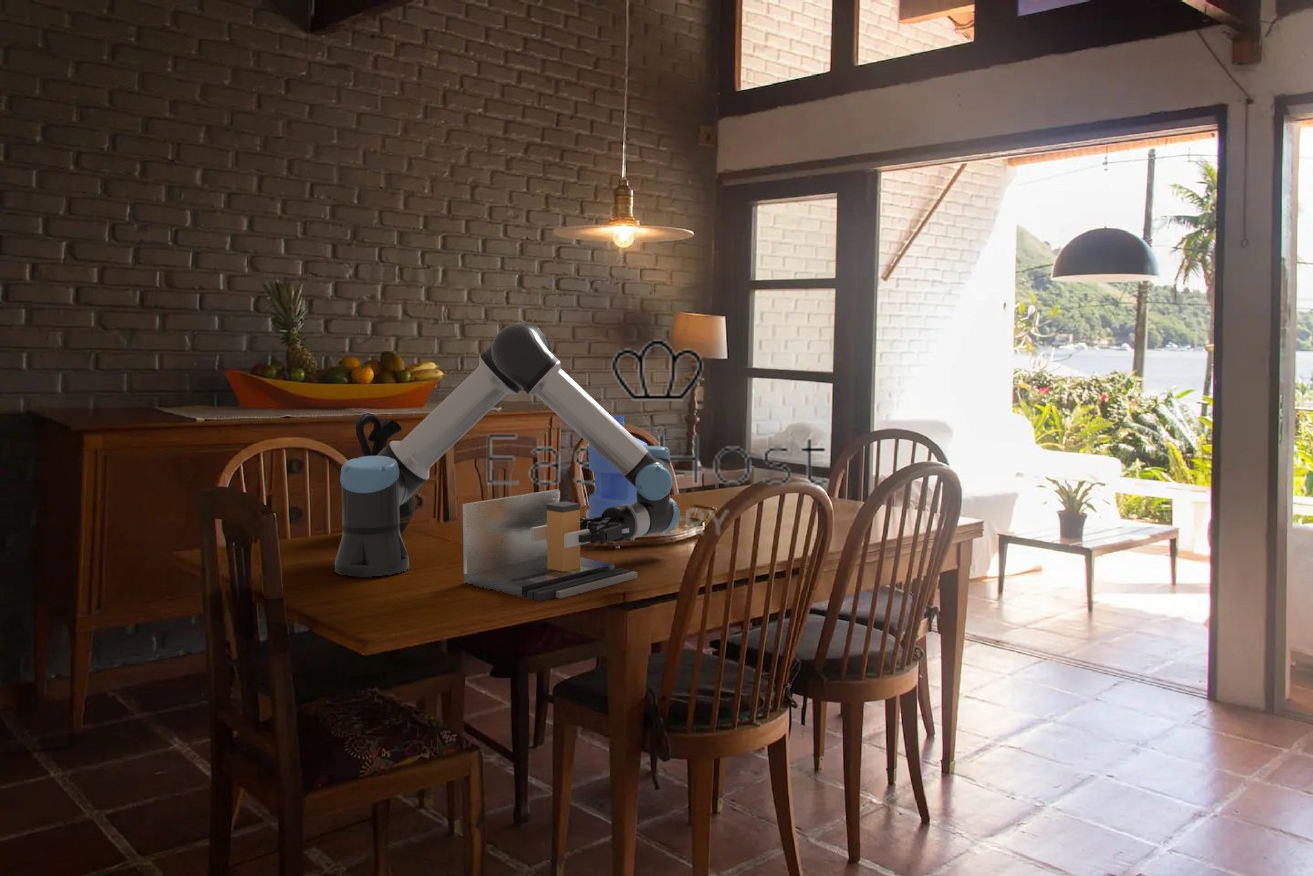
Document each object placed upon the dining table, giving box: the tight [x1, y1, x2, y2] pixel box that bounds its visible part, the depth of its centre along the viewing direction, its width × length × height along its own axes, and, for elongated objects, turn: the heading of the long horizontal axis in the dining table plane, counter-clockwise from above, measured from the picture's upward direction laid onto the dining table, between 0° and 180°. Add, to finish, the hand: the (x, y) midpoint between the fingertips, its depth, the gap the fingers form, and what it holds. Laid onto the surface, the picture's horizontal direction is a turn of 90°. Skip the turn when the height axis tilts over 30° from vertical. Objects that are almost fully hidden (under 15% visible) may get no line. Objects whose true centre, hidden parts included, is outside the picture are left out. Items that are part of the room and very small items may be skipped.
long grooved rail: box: [526, 567, 638, 602], centre depth 208 cm, size 26×5×1 cm, turn 140°
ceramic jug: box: [355, 413, 416, 537], centre depth 259 cm, size 17×15×30 cm
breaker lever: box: [547, 500, 581, 572], centre depth 216 cm, size 5×4×13 cm
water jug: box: [588, 415, 649, 518], centre depth 277 cm, size 16×16×28 cm
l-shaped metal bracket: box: [462, 488, 616, 598], centre depth 216 cm, size 26×17×16 cm, turn 140°
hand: (548, 537), depth 212 cm, fingers open, 9 cm apart
